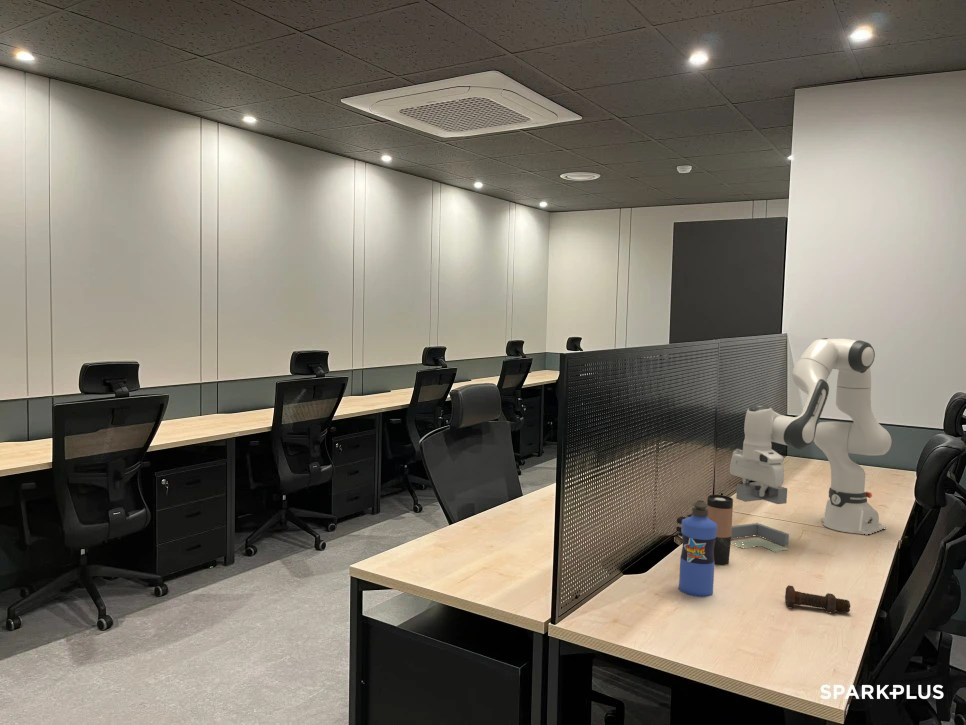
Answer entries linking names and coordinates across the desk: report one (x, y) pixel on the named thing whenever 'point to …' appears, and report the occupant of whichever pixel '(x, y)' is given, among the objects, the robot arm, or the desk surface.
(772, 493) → the bracket
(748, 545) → the mat
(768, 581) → the desk surface
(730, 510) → the travel mug
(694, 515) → the water bottle
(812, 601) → the bolt
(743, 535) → the corner walls
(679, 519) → the end cap
